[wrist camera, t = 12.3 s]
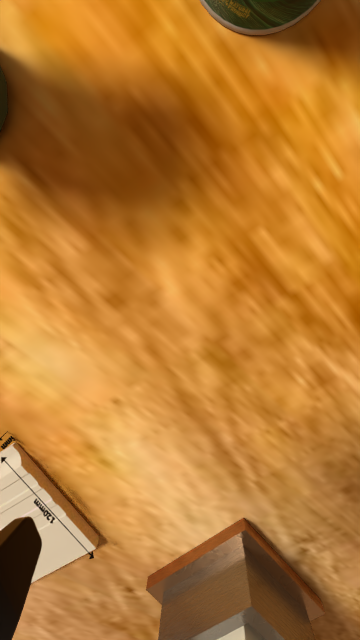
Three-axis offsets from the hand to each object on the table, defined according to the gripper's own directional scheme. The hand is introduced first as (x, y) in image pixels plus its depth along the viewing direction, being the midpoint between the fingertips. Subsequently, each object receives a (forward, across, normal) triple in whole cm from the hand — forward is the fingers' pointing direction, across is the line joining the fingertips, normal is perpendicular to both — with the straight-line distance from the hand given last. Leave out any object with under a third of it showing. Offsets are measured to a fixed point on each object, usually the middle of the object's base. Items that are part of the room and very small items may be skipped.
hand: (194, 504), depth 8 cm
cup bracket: (+13, +2, +21) cm, 25 cm away
